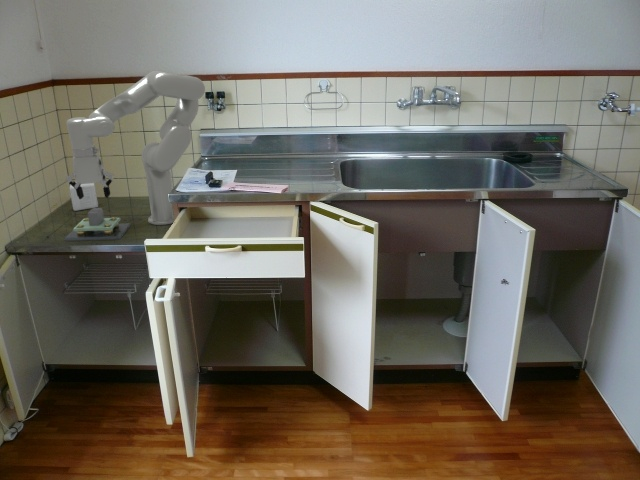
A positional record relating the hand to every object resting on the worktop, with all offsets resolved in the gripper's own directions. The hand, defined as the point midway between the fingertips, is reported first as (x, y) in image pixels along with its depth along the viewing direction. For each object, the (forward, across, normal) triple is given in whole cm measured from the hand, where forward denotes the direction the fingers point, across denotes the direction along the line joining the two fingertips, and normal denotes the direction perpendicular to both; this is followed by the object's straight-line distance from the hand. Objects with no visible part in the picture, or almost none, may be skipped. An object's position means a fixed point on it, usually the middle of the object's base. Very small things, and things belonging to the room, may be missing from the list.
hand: (94, 197), depth 199 cm
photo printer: (+15, +17, -30) cm, 38 cm away
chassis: (+14, +1, +1) cm, 14 cm away
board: (+11, +1, +1) cm, 11 cm away
